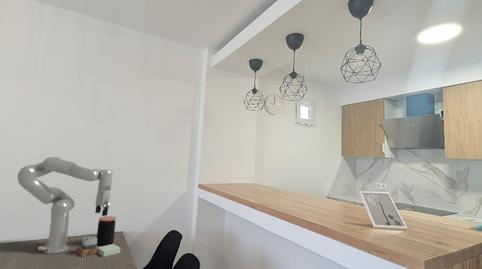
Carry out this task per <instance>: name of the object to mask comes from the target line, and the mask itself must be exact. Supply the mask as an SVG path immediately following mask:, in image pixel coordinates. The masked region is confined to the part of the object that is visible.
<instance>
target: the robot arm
mask: <svg viewBox="0 0 482 269" xmlns="http://www.w3.org/2000/svg"><path fill="white" fill-rule="evenodd" d="M53 172H54V173H58V174H62V175H66V176H69V177H72V178H75V179H79V180H83V181H86V182H94V181H98V187H97V192H96V196H95V204H94V205H95V214H100V213H101V211H102V213H101V217H105V216H108V210H109V208H110V204H111V203H110V198H111V197H110V196H111V195H110V194H111V189H112V182H113V173H114V172H113V170H109V169H98V168H92V169H90V168H86V167H83V166H79V165H78V164H76V163H75V162H73V161H68V160H64V159H62V158H60V157H57V156H50V157H47V158H45V159H44V160H43V161H42V162H39V163H37V164H28V165H25V166H23V167H22V168H20V169H19V171H18V173H17V182H18V184H19V186H20V187H22V188H23V189H24V190H25V191H26V192H28V193H29V194H30V195H32V196H33V197H34V198H36V199H37V200H38V201H39V202H41V203H42V204H46V205H48V204H52V205H51V209H50V224H49V226H50V227H49V233H48V234H49V235H48V242H47V243H46V244H45V245H41V246H38V247H37V251H43V253H45V254H47V255H48V254H49V255H52V254H53V255H54V254H55V255H56V254H60V253H64V252H67V251H68V250H69V248H70V247H69V246H68V245H67V240H68V230H69V224H70V223H69V222H70V215H69V214H70V211H71V210H72V209H73V208H74V207H75V206H76V204H75V200H74V199H73V198H72V197H71V196H70V195H68V193H65V192H64V190H62V189H61V188H59V187H56V186H55V187H53V186H52V187H50V186H48V185H46V184H45V183H44V182H43V181H41V180H39V179H38V178H39V177H44V176H45V175H47V174H50V173H53Z"/></svg>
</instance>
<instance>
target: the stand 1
mask: <svg viewBox="0 0 482 269" xmlns="http://www.w3.org/2000/svg"><path fill="white" fill-rule="evenodd" d="M98 247H99V246H97V247H96V248H93V249H88V250H84V249H83V248H82V245H81V246H77V247H76V253H77V254H78V255H79V256H80V257H82V258H84V257H88V256H92V255H96V254H99V253H98V252H99V248H98Z"/></svg>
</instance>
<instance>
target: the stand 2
mask: <svg viewBox="0 0 482 269" xmlns="http://www.w3.org/2000/svg"><path fill="white" fill-rule="evenodd" d="M98 248H99V252H98V253H97V254H99V256H102V257H109V256H112V255H116V254H120V253H121V247H119V246H118V245H116V244H114V243H113V244H111V245H106V246H102V247H98Z"/></svg>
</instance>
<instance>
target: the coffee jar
mask: <svg viewBox="0 0 482 269" xmlns="http://www.w3.org/2000/svg"><path fill="white" fill-rule="evenodd" d="M116 218H117V216H113V215H112V216H111V215H110V216H109V215H107V216H101V217H99V218H98V223H97V233H96V237H97V246H99V247H102V246H106V245H111V244H114V240H115V228H116Z"/></svg>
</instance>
